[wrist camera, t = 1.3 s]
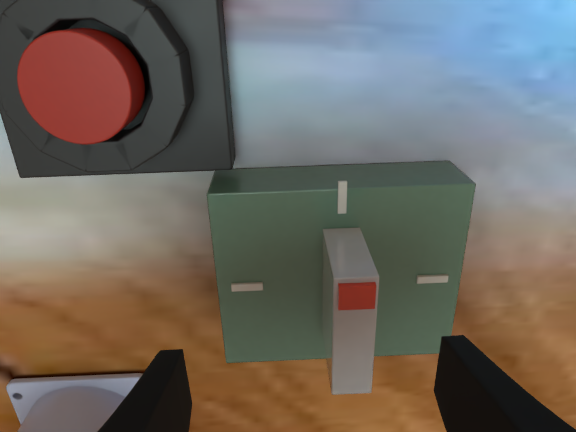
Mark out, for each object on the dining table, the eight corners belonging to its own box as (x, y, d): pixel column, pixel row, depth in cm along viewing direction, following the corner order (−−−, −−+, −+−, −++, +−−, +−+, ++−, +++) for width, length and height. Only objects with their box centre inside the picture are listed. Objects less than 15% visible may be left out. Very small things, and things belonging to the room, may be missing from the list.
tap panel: (428, 320, 25) (449, 361, 22) (231, 329, 25) (226, 371, 22) (450, 153, 21) (479, 176, 18) (214, 162, 21) (204, 187, 18)
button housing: (235, 158, 20) (228, 186, 17) (38, 165, 20) (-5, 195, 17) (219, -43, 17) (206, -53, 14) (-19, -35, 17) (-86, -45, 14)
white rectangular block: (355, 330, 21) (372, 398, 17) (321, 331, 21) (332, 400, 17) (360, 226, 19) (381, 280, 15) (322, 228, 19) (334, 282, 15)
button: (152, 130, 17) (140, 143, 15) (56, 133, 17) (33, 147, 15) (136, 26, 15) (120, 28, 14) (29, 29, 15) (1, 32, 14)
